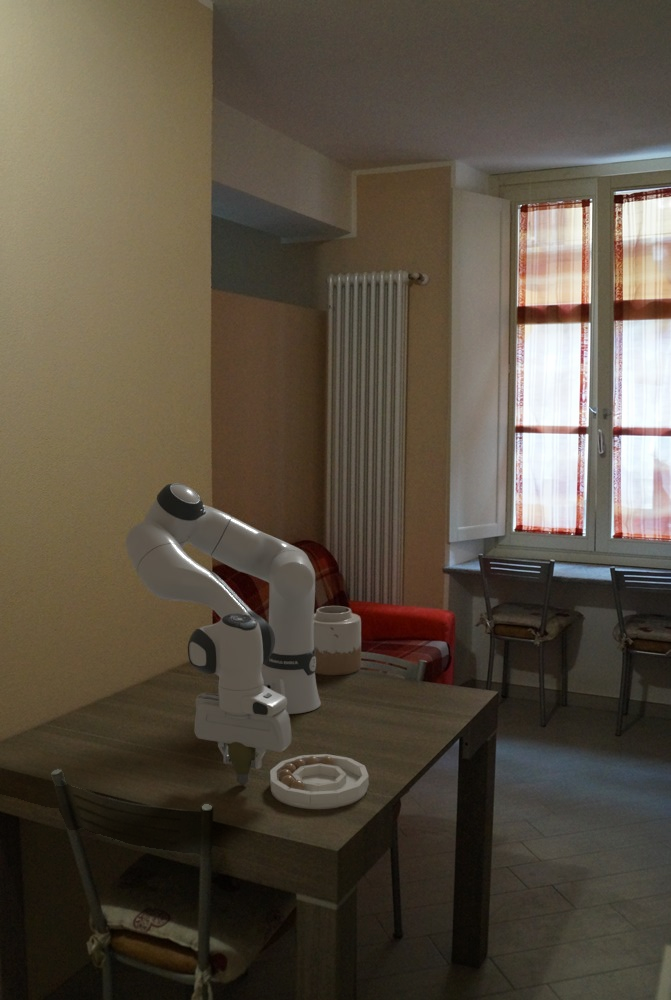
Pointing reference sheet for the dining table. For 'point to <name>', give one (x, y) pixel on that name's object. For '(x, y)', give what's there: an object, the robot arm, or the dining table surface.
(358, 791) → the bead tray
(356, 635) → the vase
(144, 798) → the dining table surface
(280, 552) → the robot arm
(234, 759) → the light bulb
